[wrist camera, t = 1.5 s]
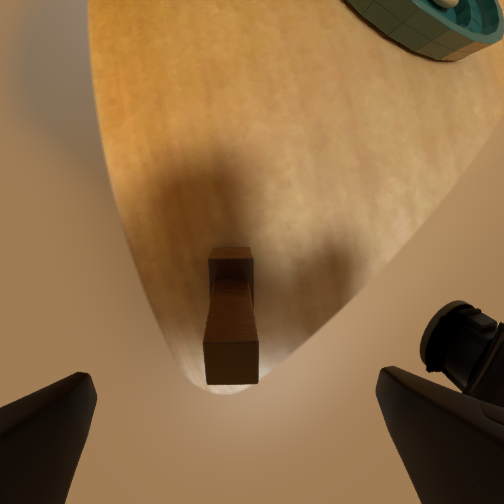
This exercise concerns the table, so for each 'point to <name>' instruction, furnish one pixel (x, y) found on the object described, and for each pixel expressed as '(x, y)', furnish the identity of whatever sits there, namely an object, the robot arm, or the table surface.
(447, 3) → the dumpling
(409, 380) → the robot arm
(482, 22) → the mixing bowl
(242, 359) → the brown block
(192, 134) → the table surface
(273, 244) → the table surface
